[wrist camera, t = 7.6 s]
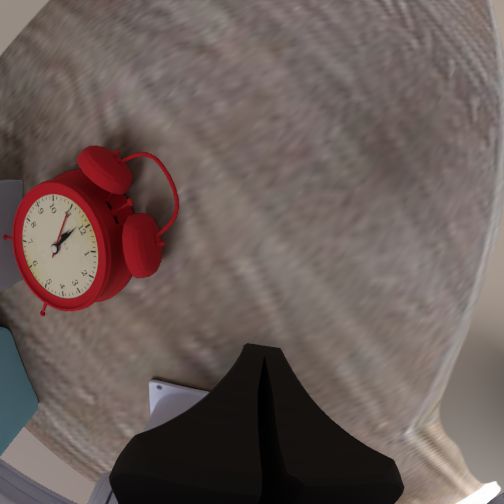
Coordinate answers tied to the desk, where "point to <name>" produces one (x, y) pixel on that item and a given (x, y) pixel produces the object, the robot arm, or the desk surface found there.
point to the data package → (13, 391)
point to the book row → (8, 231)
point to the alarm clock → (86, 233)
